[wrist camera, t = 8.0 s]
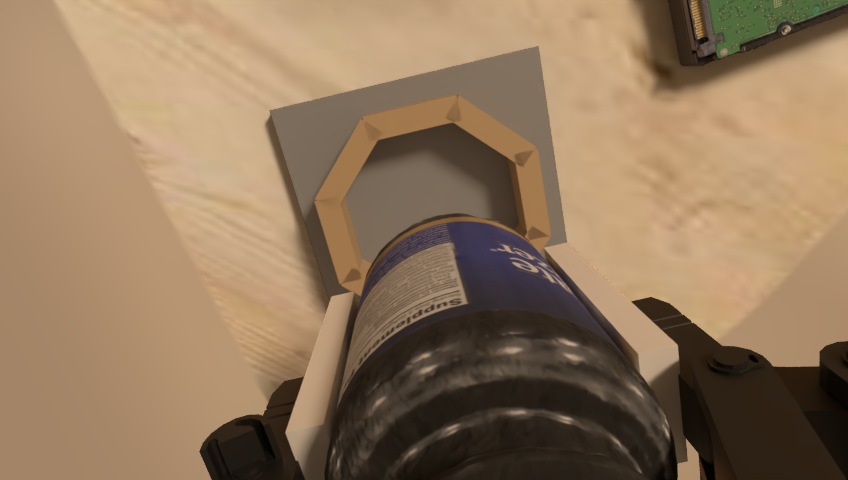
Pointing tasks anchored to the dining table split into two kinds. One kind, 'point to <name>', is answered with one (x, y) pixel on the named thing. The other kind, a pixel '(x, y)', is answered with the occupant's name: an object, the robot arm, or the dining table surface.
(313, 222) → the end holder
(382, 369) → the pill bottle
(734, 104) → the dining table surface
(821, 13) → the disk drive
